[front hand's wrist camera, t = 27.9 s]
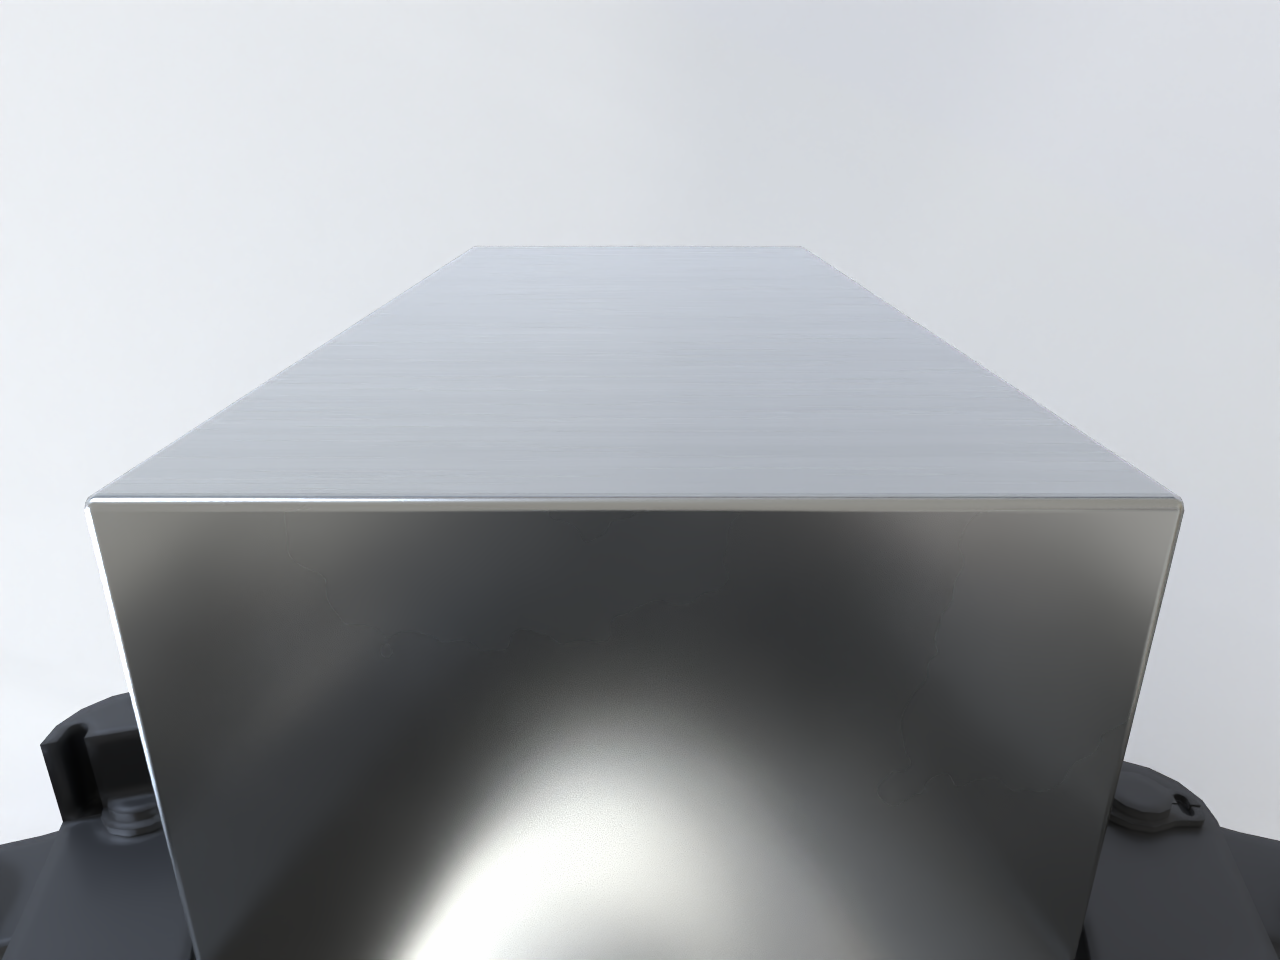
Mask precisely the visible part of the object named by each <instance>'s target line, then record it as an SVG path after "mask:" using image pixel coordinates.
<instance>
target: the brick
mask: <svg viewBox="0 0 1280 960" xmlns="http://www.w3.org/2000/svg"><path fill="white" fill-rule="evenodd" d="M84 511H85V515H86V519H87V523H88V527H89V531H90V535H91V539H92V543H93V547H94V551H95V555H96V559H97V563H98V567H99V571H100V575H101V579H102V583H103V587H104V591H105V595H106V599H107V603H108V607H109V611H110V615H111V620H112V624H113V628H114V632H115V636H116V640H117V644H118V648H119V652H120V656H121V660H122V664H123V668H124V672H125V676H126V680H127V684H128V688H129V692H130V696H131V700H132V704H133V708H134V712H135V716H136V720H137V724H138V728H139V732H140V736H141V740H142V744H143V748H144V752H145V756H146V761H147V765H148V769H149V773H150V777H151V781H152V785H153V789H154V793H155V797H156V801H157V805H158V809H159V813H160V817H161V821H162V825H163V829H164V833H165V837H166V841H167V845H168V849H169V853H170V857H171V861H172V865H173V869H174V873H175V877H176V881H177V885H178V889H179V893H180V897H181V902H182V906H183V910H184V914H185V918H186V922H187V926H188V930H189V934H190V938H191V942H192V946H193V950H194V954H195V958H196V960H1075V956H1076V952H1077V948H1078V944H1079V940H1080V936H1081V932H1082V928H1083V924H1084V919H1085V915H1086V911H1087V907H1088V903H1089V899H1090V895H1091V891H1092V887H1093V882H1094V878H1095V874H1096V870H1097V866H1098V862H1099V858H1100V854H1101V850H1102V846H1103V841H1104V837H1105V833H1106V829H1107V825H1108V821H1109V817H1110V813H1111V809H1112V805H1113V800H1114V796H1115V792H1116V788H1117V784H1118V780H1119V776H1120V772H1121V768H1122V764H1123V759H1124V755H1125V751H1126V747H1127V743H1128V739H1129V735H1130V731H1131V727H1132V723H1133V718H1134V714H1135V710H1136V706H1137V702H1138V698H1139V694H1140V690H1141V686H1142V681H1143V677H1144V673H1145V669H1146V665H1147V661H1148V657H1149V653H1150V649H1151V645H1152V640H1153V636H1154V632H1155V628H1156V624H1157V620H1158V616H1159V612H1160V608H1161V604H1162V599H1163V595H1164V591H1165V587H1166V583H1167V579H1168V575H1169V571H1170V567H1171V563H1172V558H1173V554H1174V550H1175V546H1176V542H1177V538H1178V534H1179V530H1180V526H1181V522H1182V517H1183V513H1184V506H1183V501H1182V499H1181V497H1179V496H1178V495H1176V494H1175V493H1173V492H1172V491H1170V490H1169V489H1167V488H1166V487H1164V486H1162V485H1161V484H1159V483H1158V482H1156V481H1155V480H1153V479H1152V478H1150V477H1149V476H1147V475H1146V474H1144V473H1143V472H1141V471H1140V470H1138V469H1137V468H1135V467H1134V466H1132V465H1131V464H1129V463H1128V462H1126V461H1125V460H1123V459H1122V458H1120V457H1119V456H1117V455H1116V454H1114V453H1113V452H1111V451H1110V450H1108V449H1107V448H1105V447H1104V446H1102V445H1101V444H1099V443H1098V442H1096V441H1095V440H1093V439H1092V438H1090V437H1089V436H1087V435H1086V434H1084V433H1083V432H1081V431H1080V430H1078V429H1076V428H1075V427H1073V426H1072V425H1070V424H1069V423H1067V422H1066V421H1064V420H1063V419H1061V418H1060V417H1058V416H1057V415H1055V414H1054V413H1052V412H1051V411H1049V410H1048V409H1046V408H1045V407H1043V406H1042V405H1040V404H1039V403H1037V402H1036V401H1034V400H1033V399H1031V398H1030V397H1028V396H1027V395H1025V394H1024V393H1022V392H1021V391H1019V390H1018V389H1016V388H1015V387H1013V386H1012V385H1010V384H1009V383H1007V382H1006V381H1004V380H1003V379H1001V378H1000V377H998V376H997V375H995V374H994V373H992V372H990V371H989V370H987V369H986V368H984V367H983V366H981V365H980V364H978V363H977V362H975V361H974V360H972V359H971V358H969V357H968V356H966V355H965V354H963V353H962V352H960V351H959V350H957V349H956V348H954V347H953V346H951V345H950V344H948V343H947V342H945V341H944V340H942V339H941V338H939V337H938V336H936V335H935V334H933V333H932V332H930V331H929V330H927V329H926V328H924V327H923V326H921V325H920V324H918V323H917V322H915V321H914V320H912V319H911V318H909V317H908V316H906V315H904V314H903V313H901V312H900V311H898V310H897V309H895V308H894V307H892V306H891V305H889V304H888V303H886V302H885V301H883V300H882V299H880V298H879V297H877V296H876V295H874V294H873V293H871V292H870V291H868V290H867V289H865V288H864V287H862V286H861V285H859V284H858V283H856V282H855V281H853V280H852V279H850V278H849V277H847V276H846V275H844V274H843V273H841V272H840V271H838V270H837V269H835V268H834V267H832V266H831V265H829V264H828V263H826V262H825V261H823V260H822V259H820V258H819V257H817V256H815V255H814V254H812V253H811V252H809V251H808V250H806V249H805V248H803V247H801V246H475V247H473V248H471V249H469V250H468V251H466V252H465V253H463V254H462V255H460V256H459V257H457V258H456V259H454V260H453V261H451V262H449V263H448V264H446V265H445V266H443V267H442V268H440V269H439V270H437V271H436V272H434V273H433V274H431V275H429V276H428V277H426V278H425V279H423V280H422V281H420V282H419V283H417V284H416V285H414V286H413V287H411V288H409V289H408V290H406V291H405V292H403V293H402V294H400V295H399V296H397V297H396V298H394V299H393V300H391V301H389V302H388V303H386V304H385V305H383V306H382V307H380V308H379V309H377V310H376V311H374V312H373V313H371V314H369V315H368V316H366V317H365V318H363V319H362V320H360V321H359V322H357V323H356V324H354V325H353V326H351V327H349V328H348V329H346V330H345V331H343V332H342V333H340V334H339V335H337V336H336V337H334V338H333V339H331V340H329V341H328V342H326V343H325V344H323V345H322V346H320V347H319V348H317V349H316V350H314V351H313V352H311V353H309V354H308V355H306V356H305V357H303V358H302V359H300V360H299V361H297V362H296V363H294V364H293V365H291V366H289V367H288V368H286V369H285V370H283V371H282V372H280V373H279V374H277V375H276V376H274V377H273V378H271V379H269V380H268V381H266V382H265V383H263V384H262V385H260V386H259V387H257V388H256V389H254V390H253V391H251V392H249V393H248V394H246V395H245V396H243V397H242V398H240V399H239V400H237V401H236V402H234V403H233V404H231V405H229V406H228V407H226V408H225V409H223V410H222V411H220V412H219V413H217V414H216V415H214V416H213V417H211V418H209V419H208V420H206V421H205V422H203V423H202V424H200V425H199V426H197V427H196V428H194V429H193V430H191V431H189V432H188V433H186V434H185V435H183V436H182V437H180V438H179V439H177V440H176V441H174V442H173V443H171V444H169V445H168V446H166V447H165V448H163V449H162V450H160V451H159V452H157V453H156V454H154V455H153V456H151V457H149V458H148V459H146V460H145V461H143V462H142V463H140V464H139V465H137V466H136V467H134V468H133V469H131V470H129V471H128V472H126V473H125V474H123V475H122V476H120V477H119V478H117V479H116V480H114V481H113V482H111V483H109V484H108V485H106V486H105V487H103V488H102V489H100V490H99V491H97V492H96V493H94V494H93V495H91V496H89V497H88V499H87V500H86V503H85V510H84Z"/></svg>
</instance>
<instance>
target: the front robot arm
mask: <svg viewBox="0 0 1280 960" xmlns="http://www.w3.org/2000/svg"><path fill="white" fill-rule="evenodd" d="M40 746H41V750H42V753H43V756H44V760H45V763H46V766H47V770H48V773H49V776H50V780H51V783H52V786H53V790H54V793H55V796H56V800H57V803H58V806H59V810H60V813H61V816H62V820H63V823H62V825H61V828H60V830H59V831H57V832H53V833H50V834H46V835H43V836H39V837H34V838H29V839H25V840H20V841H16V842H11V843H7V844H2V845H0V960H196V958H195V954H194V950H193V946H192V942H191V938H190V934H189V930H188V926H187V922H186V918H185V914H184V910H183V906H182V902H181V897H180V893H179V889H178V885H177V881H176V877H175V873H174V869H173V865H172V861H171V857H170V853H169V849H168V845H167V841H166V837H165V833H164V829H163V825H162V821H161V817H160V813H159V809H158V805H157V801H156V797H155V793H154V789H153V785H152V781H151V777H150V773H149V769H148V765H147V761H146V756H145V752H144V748H143V744H142V740H141V736H140V732H139V728H138V724H137V720H136V716H135V712H134V708H133V704H132V700H131V696H130V692H128V693H124V694H120V695H115V696H112V697H109V698H107V699H105V700H102V701H100V702H97V703H95V704H93V705H90V706H88V707H86V708H83V709H81V710H80V711H78V712H77V713H75V714H74V715H72V716H71V717H69V718H68V719H66V720H65V721H63V722H62V723H60V724H59V725H57V726H56V727H55V728H54V729H53V730H52V732H51V733H50V734H49V735H48V736H47V737H46V739H45V740H44V741H43V742H42V743H41V744H40ZM1075 960H1280V841H1277V840H1273V839H1268V838H1264V837H1259V836H1254V835H1250V834H1245V833H1241V832H1237V831H1233V830H1230V829H1226V828H1223V827H1220V826H1219V824H1218V822H1217V820H1216V819H1215V817H1214V816H1213V814H1212V813H1211V812H1210V810H1209V809H1208V808H1207V806H1206V805H1205V803H1204V802H1203V801H1202V800H1201V799H1200V798H1198V797H1197V796H1196V795H1195V794H1193V793H1192V792H1191V791H1189V790H1188V789H1187V788H1185V787H1184V786H1183V785H1181V784H1180V783H1179V782H1177V781H1175V780H1173V779H1171V778H1169V777H1167V776H1165V775H1163V774H1161V773H1158V772H1156V771H1154V770H1152V769H1150V768H1147V767H1143V766H1140V765H1136V764H1132V763H1129V762H1125V761H1123V764H1122V768H1121V772H1120V776H1119V780H1118V784H1117V788H1116V792H1115V796H1114V800H1113V805H1112V809H1111V813H1110V817H1109V821H1108V825H1107V829H1106V833H1105V837H1104V841H1103V846H1102V850H1101V854H1100V858H1099V862H1098V866H1097V870H1096V874H1095V878H1094V882H1093V887H1092V891H1091V895H1090V899H1089V903H1088V907H1087V911H1086V915H1085V919H1084V924H1083V928H1082V932H1081V936H1080V940H1079V944H1078V948H1077V952H1076V956H1075Z"/></svg>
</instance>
